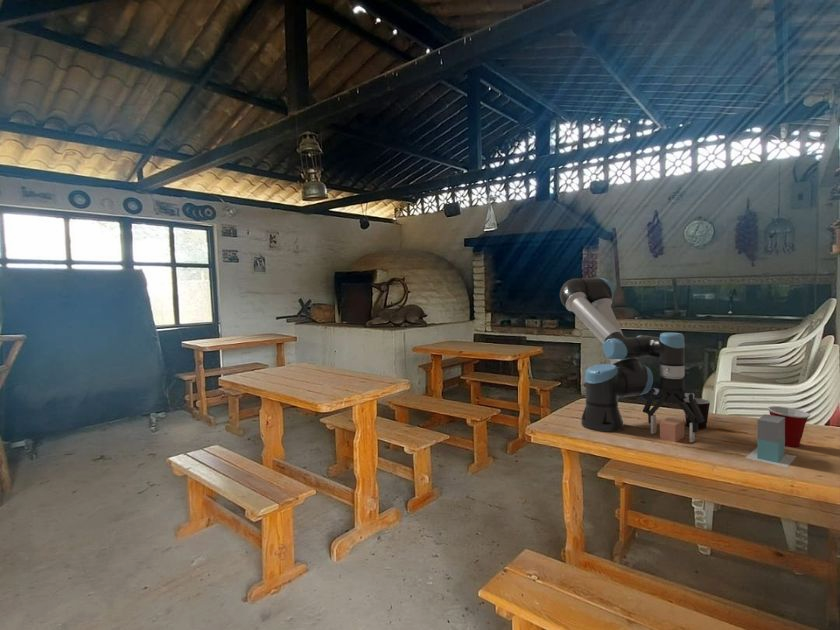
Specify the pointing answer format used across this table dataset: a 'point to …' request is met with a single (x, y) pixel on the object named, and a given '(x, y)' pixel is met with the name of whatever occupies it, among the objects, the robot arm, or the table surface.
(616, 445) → the table surface
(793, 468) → the table surface
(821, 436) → the table surface
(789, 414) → the plastic cup
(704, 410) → the coffee mug
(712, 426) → the table surface
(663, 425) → the terracotta brick
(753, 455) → the baseplate
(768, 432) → the charcoal brick
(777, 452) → the teal base brick
